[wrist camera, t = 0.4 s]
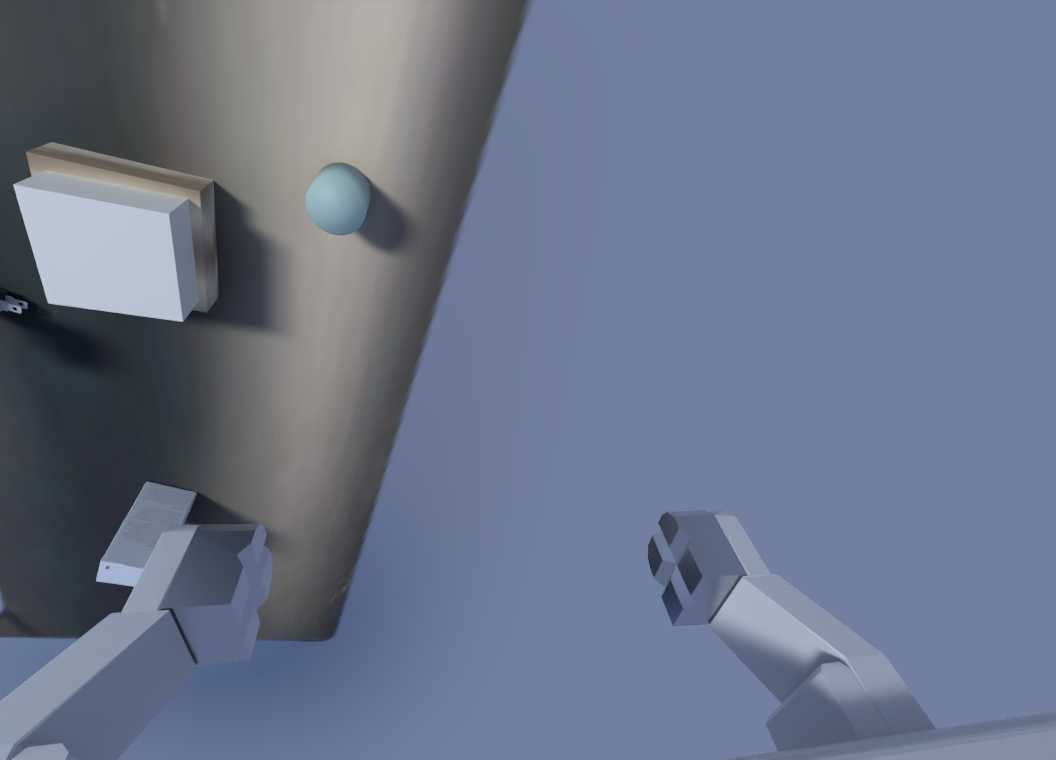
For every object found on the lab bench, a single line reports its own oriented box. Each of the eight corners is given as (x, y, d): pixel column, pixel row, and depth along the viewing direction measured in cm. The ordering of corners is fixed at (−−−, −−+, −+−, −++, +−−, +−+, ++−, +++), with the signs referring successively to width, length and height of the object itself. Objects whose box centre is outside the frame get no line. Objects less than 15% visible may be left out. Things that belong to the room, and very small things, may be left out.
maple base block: (56, 140, 42) (25, 151, 39) (215, 178, 46) (199, 191, 43) (82, 269, 49) (58, 287, 46) (220, 293, 52) (207, 312, 49)
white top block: (46, 170, 40) (13, 184, 37) (188, 198, 43) (168, 214, 40) (74, 282, 46) (48, 303, 42) (199, 301, 48) (182, 321, 45)
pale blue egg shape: (317, 155, 46) (306, 170, 42) (374, 170, 47) (369, 186, 43) (314, 209, 48) (303, 227, 44) (367, 221, 50) (362, 240, 46)
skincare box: (140, 499, 67) (92, 581, 57) (147, 479, 65) (98, 560, 55) (191, 510, 69) (153, 591, 60) (199, 491, 68) (161, 571, 58)
